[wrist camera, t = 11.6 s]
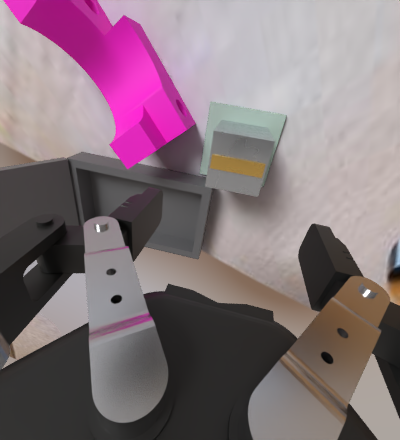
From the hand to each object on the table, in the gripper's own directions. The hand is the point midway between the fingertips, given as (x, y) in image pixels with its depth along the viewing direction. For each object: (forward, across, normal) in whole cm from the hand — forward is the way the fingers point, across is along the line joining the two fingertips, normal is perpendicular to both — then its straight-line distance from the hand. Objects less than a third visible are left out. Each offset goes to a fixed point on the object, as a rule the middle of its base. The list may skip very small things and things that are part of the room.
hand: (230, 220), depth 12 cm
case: (+16, +12, +10) cm, 22 cm away
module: (+16, 0, 0) cm, 16 cm away
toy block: (+16, +13, -6) cm, 22 cm away
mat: (+16, +1, 0) cm, 16 cm away
